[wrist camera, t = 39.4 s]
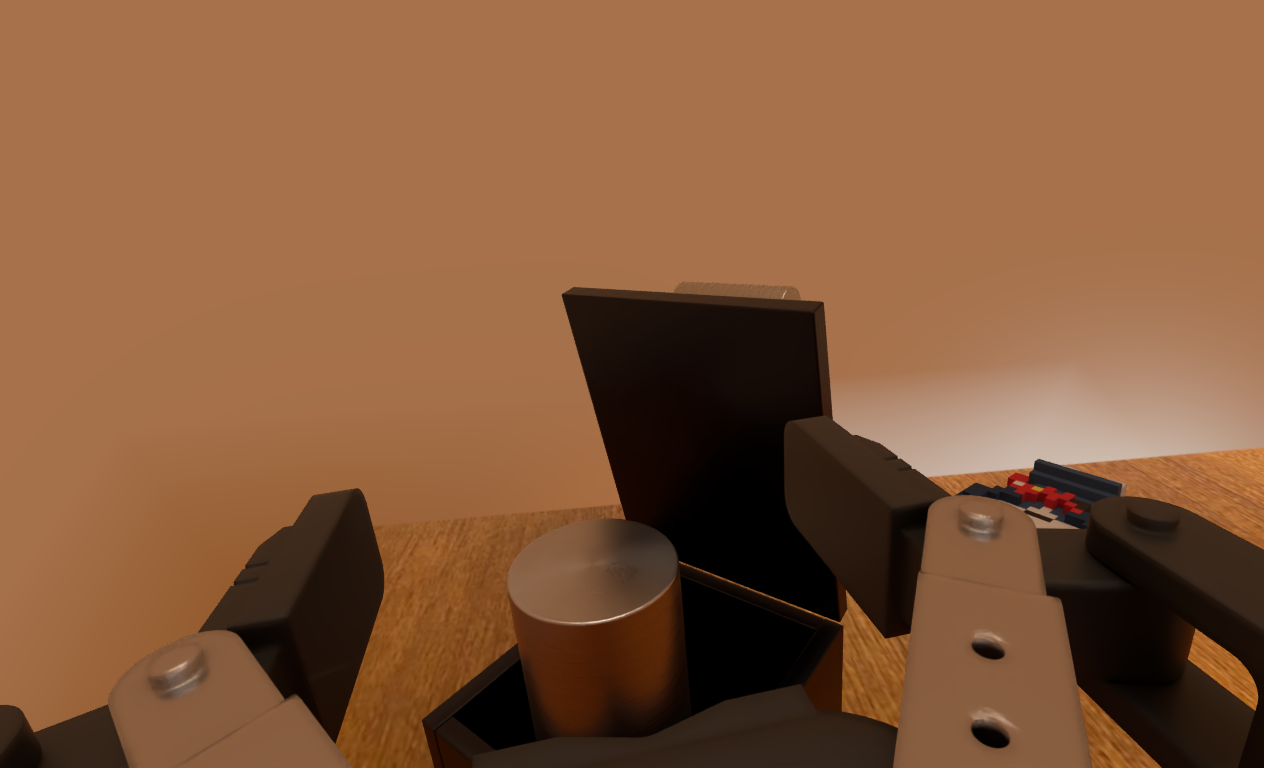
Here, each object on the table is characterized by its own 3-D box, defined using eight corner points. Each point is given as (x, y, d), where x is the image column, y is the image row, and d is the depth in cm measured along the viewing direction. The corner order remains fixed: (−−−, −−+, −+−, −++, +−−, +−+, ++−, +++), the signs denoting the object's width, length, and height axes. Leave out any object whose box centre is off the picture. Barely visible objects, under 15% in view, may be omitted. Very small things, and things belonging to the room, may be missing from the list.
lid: (813, 312, 18) (872, 252, 21) (560, 294, 25) (634, 250, 28) (840, 623, 24) (883, 541, 28) (631, 543, 31) (686, 484, 34)
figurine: (1182, 481, 37) (1063, 587, 29) (1168, 542, 38) (1051, 659, 31) (1024, 437, 44) (896, 515, 36) (1018, 490, 45) (892, 575, 38)
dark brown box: (674, 1070, 18) (655, 916, 16) (455, 850, 25) (420, 719, 22) (840, 751, 27) (843, 625, 25) (648, 653, 34) (637, 545, 31)
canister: (565, 927, 21) (509, 643, 17) (548, 780, 26) (503, 536, 22) (721, 878, 22) (702, 598, 18) (675, 745, 27) (653, 505, 23)
